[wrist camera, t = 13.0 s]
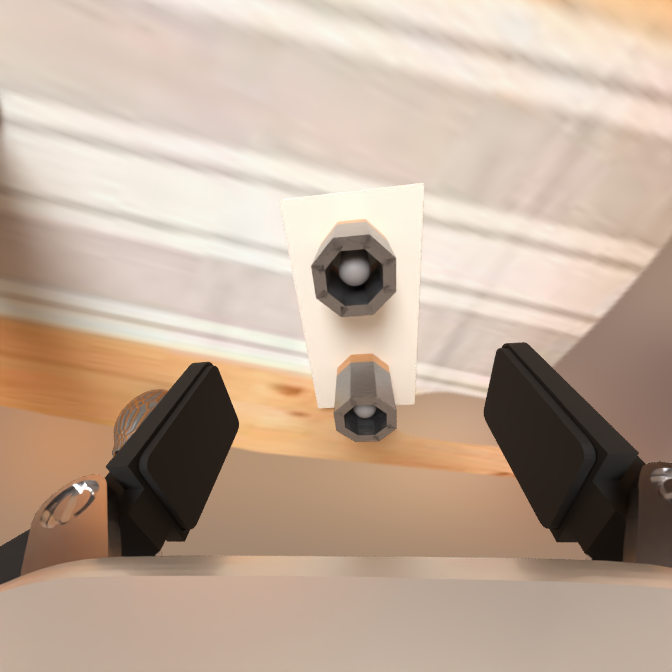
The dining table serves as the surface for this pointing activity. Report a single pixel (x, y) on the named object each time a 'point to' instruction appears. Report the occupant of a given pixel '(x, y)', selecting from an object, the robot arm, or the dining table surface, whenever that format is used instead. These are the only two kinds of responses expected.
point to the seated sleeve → (364, 398)
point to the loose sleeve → (381, 275)
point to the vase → (134, 416)
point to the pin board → (366, 328)
